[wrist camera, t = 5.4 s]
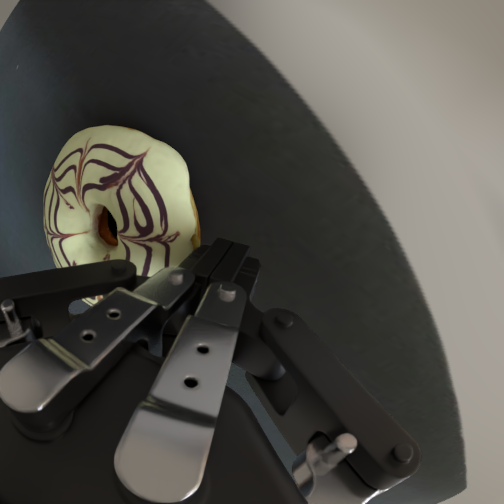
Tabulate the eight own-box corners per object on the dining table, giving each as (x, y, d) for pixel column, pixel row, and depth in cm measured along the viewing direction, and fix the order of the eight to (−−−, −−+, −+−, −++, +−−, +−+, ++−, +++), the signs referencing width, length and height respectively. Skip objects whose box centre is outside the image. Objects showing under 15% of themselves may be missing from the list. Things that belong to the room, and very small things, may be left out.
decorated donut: (214, 118, 12) (182, 111, 9) (214, 307, 16) (193, 348, 13) (68, 136, 14) (25, 142, 10) (86, 282, 18) (54, 307, 14)
